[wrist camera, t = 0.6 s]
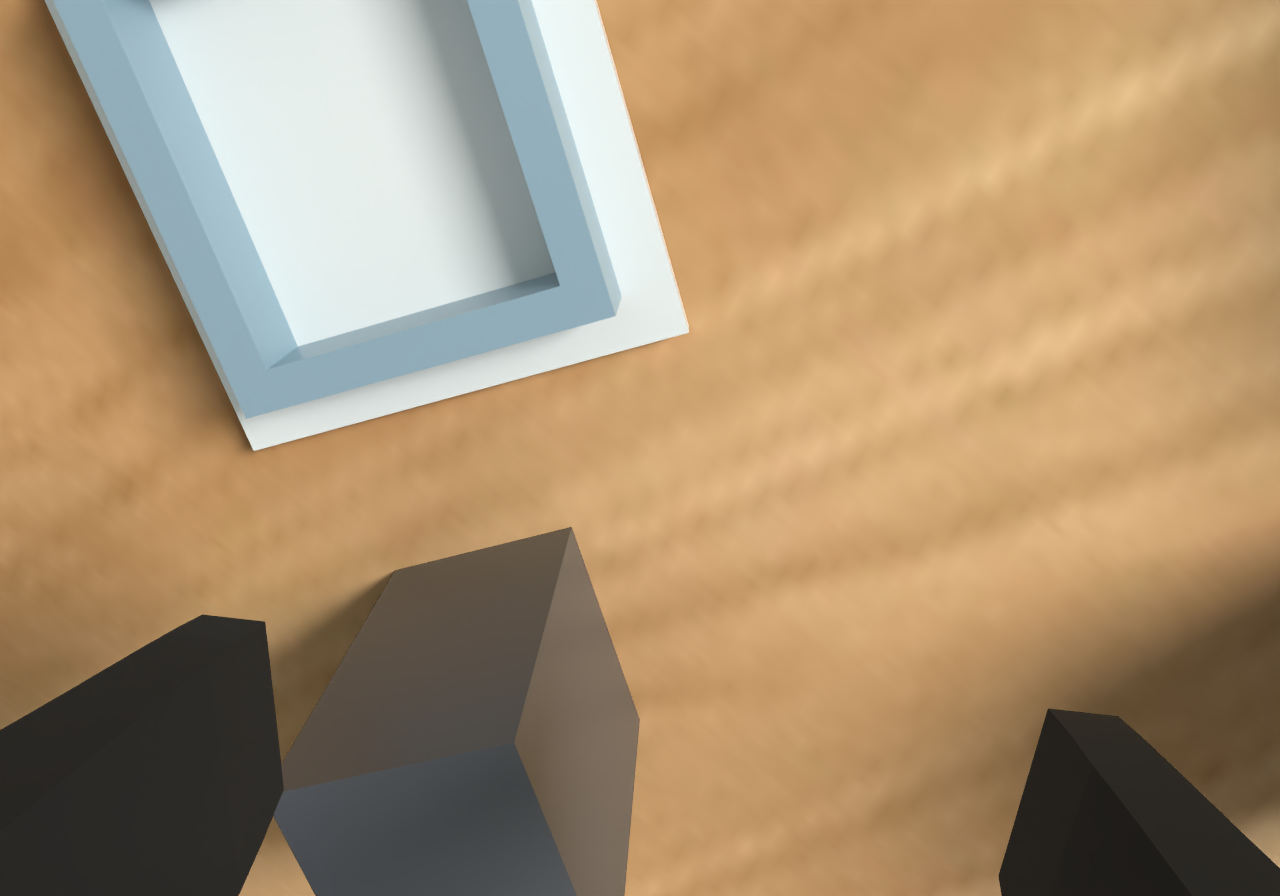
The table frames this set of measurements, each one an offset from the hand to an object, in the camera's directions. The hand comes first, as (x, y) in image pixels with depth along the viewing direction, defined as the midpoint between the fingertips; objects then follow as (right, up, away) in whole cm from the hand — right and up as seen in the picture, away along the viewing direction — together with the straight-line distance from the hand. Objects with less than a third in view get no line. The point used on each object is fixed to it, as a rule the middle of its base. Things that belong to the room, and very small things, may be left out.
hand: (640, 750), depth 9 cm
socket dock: (-5, +9, +9) cm, 13 cm away
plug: (-3, -2, +13) cm, 13 cm away
